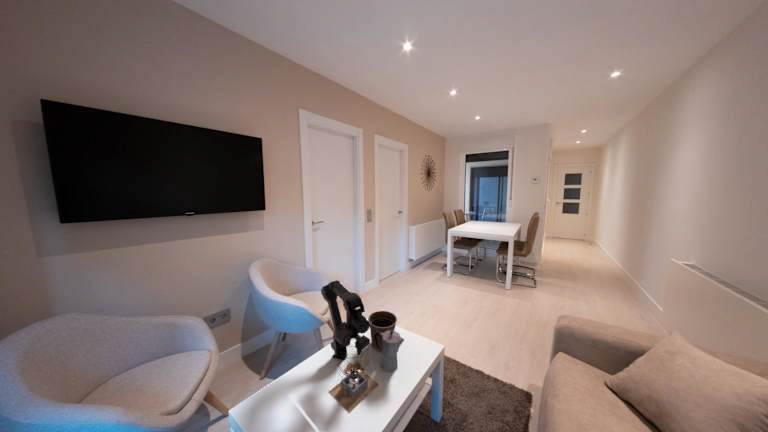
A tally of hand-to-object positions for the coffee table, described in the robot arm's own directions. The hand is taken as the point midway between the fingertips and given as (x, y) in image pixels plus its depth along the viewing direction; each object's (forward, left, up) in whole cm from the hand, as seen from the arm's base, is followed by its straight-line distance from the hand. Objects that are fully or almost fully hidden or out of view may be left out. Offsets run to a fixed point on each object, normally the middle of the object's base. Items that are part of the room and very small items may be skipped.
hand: (352, 350), depth 112 cm
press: (+8, -6, -11) cm, 15 cm away
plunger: (+8, -6, -10) cm, 14 cm away
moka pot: (+11, +14, -12) cm, 22 cm away
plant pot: (-2, +24, -12) cm, 27 cm away
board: (+8, -6, -12) cm, 15 cm away
